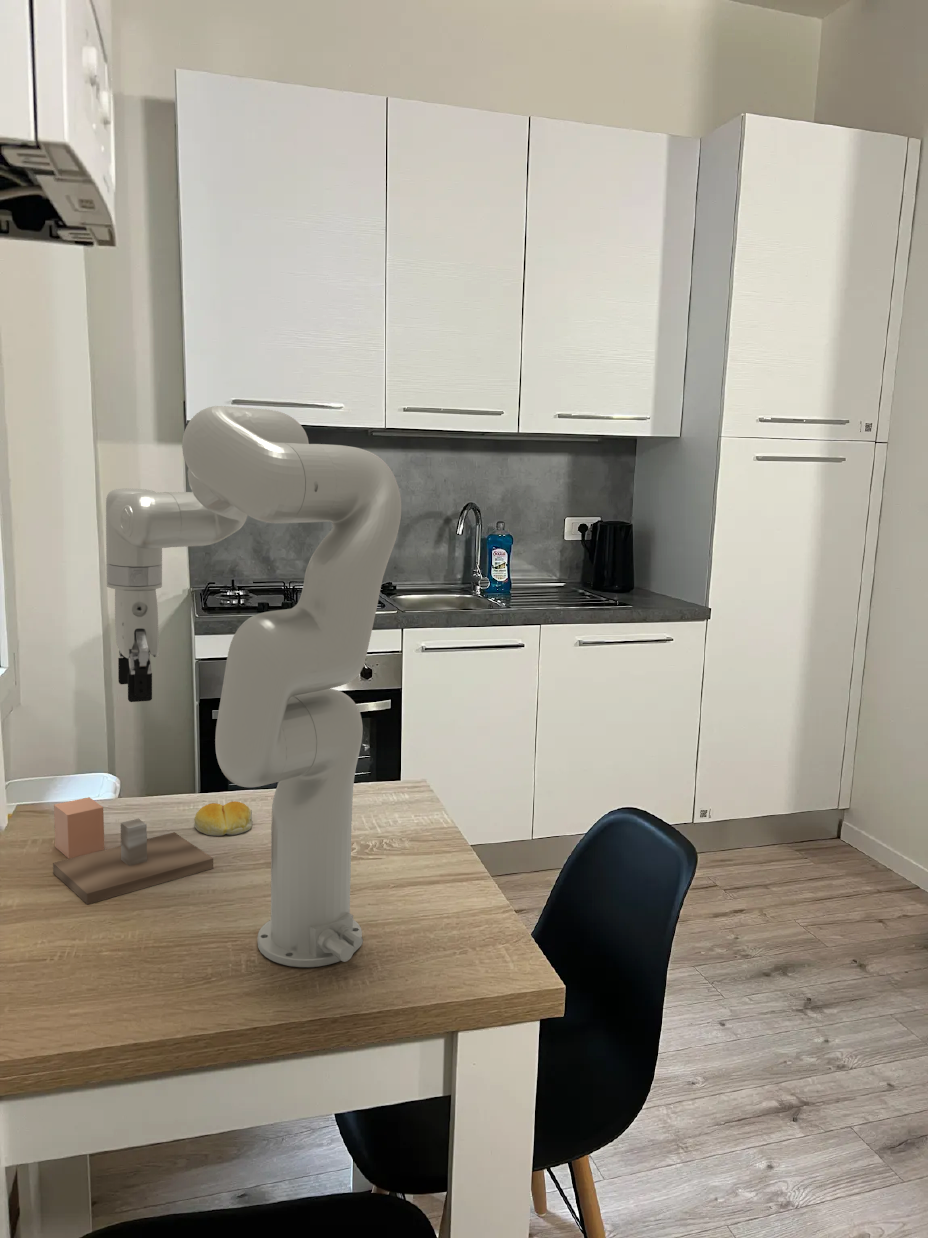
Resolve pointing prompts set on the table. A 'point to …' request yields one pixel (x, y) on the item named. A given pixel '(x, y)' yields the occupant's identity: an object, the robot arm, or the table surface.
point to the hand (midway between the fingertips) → (134, 691)
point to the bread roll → (223, 819)
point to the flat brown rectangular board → (131, 864)
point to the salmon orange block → (79, 827)
